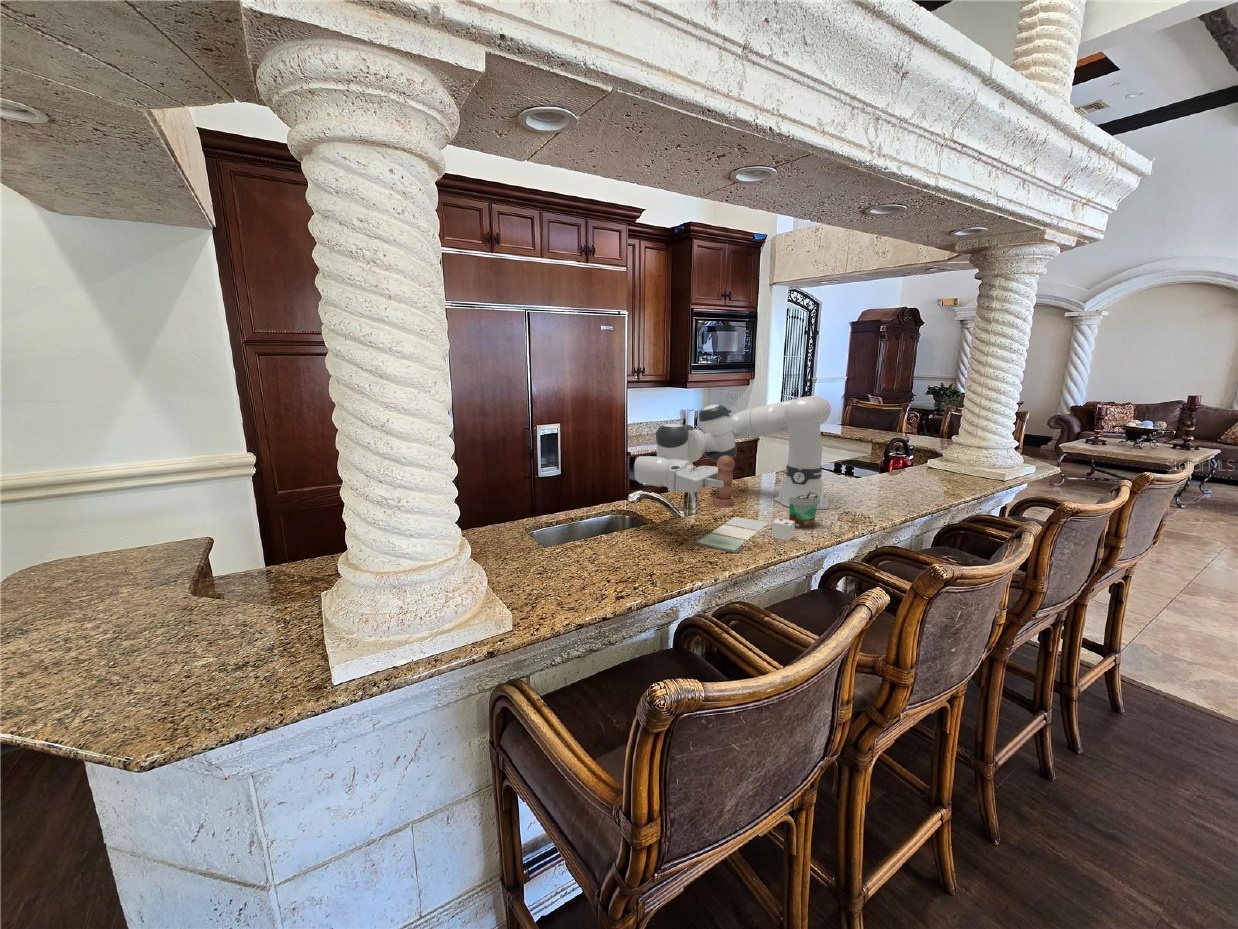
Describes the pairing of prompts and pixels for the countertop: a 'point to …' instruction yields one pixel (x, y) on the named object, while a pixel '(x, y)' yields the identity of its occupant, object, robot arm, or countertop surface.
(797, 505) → the food container
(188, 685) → the countertop surface
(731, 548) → the game board
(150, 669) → the countertop surface
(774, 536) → the die
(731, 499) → the pawn
